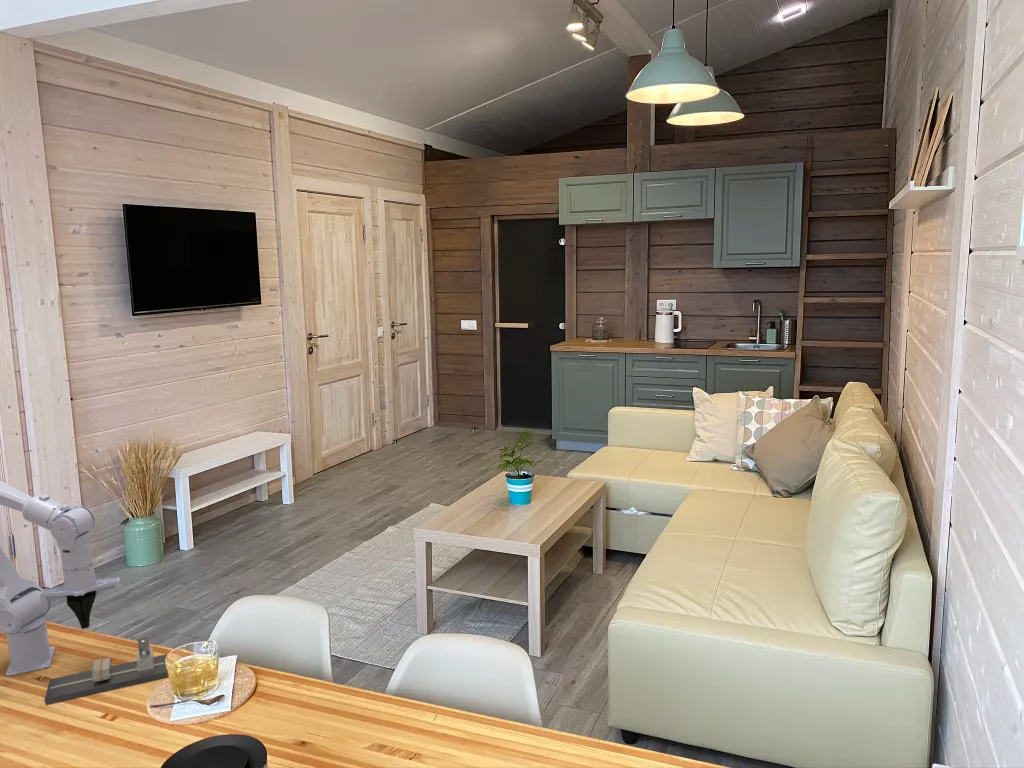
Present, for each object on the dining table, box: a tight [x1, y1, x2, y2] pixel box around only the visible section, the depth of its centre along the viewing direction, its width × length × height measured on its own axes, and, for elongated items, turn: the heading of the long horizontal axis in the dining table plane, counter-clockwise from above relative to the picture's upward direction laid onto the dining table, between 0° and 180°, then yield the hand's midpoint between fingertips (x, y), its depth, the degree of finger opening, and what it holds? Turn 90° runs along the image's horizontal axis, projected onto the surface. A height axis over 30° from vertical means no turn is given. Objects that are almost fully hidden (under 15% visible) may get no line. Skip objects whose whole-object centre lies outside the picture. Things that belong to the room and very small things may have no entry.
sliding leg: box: [92, 657, 112, 682], centre depth 157 cm, size 5×3×2 cm, turn 25°
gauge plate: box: [44, 637, 169, 706], centre depth 157 cm, size 8×22×7 cm, turn 115°
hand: (85, 626), depth 162 cm, fingers closed
